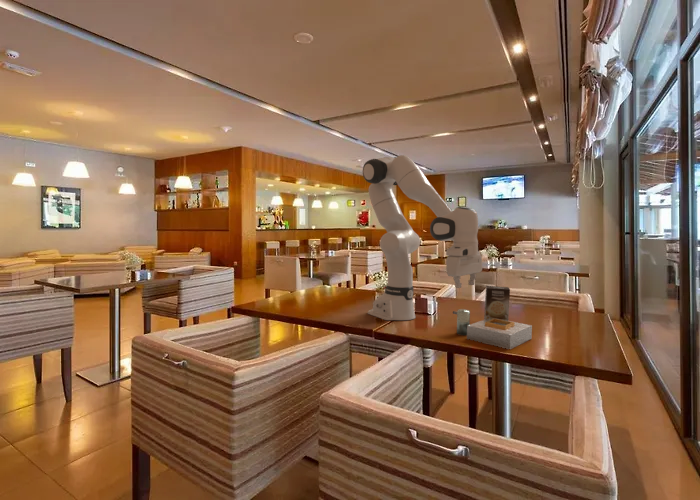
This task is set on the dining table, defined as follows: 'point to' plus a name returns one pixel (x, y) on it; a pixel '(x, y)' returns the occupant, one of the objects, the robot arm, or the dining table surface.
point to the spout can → (462, 321)
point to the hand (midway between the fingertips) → (465, 286)
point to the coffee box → (497, 302)
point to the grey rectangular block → (499, 332)
